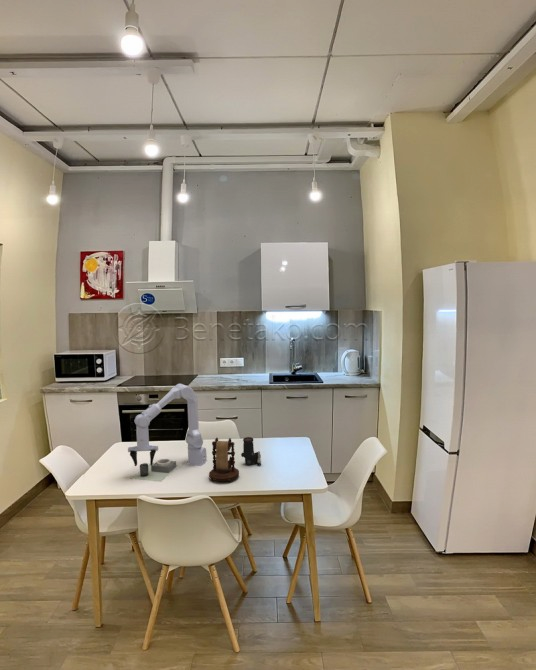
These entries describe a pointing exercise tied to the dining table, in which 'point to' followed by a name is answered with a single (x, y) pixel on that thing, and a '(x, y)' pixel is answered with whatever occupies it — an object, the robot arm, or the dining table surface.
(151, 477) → the mat
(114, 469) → the dining table surface
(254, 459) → the scope
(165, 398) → the robot arm
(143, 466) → the lens
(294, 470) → the dining table surface
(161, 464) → the camera body
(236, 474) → the scroll
